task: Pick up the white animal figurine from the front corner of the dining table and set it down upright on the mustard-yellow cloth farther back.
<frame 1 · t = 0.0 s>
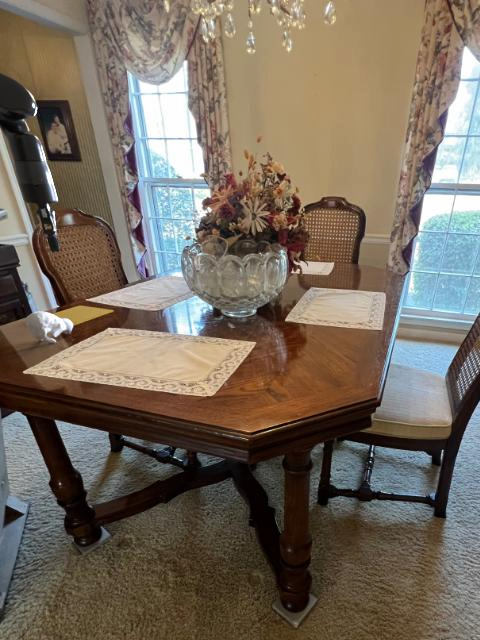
hand: (55, 249, 105), 23 cm above the table, tool pointing down, fingers open, 8 cm apart
white animal figurine: (57, 338, 110), on the table
cloth: (73, 316, 127), on the table
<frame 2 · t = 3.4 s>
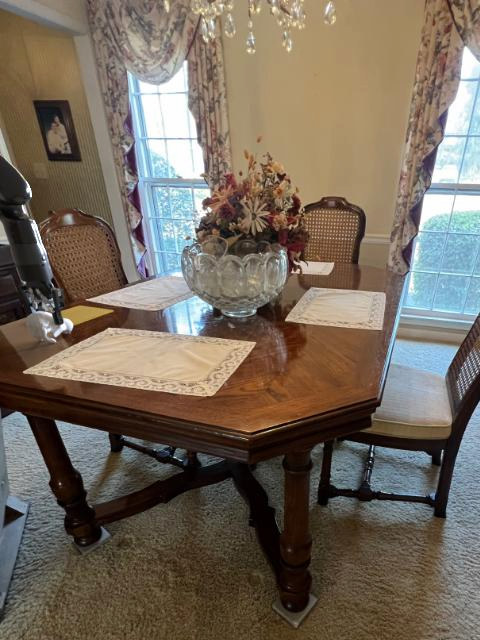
hand: (52, 323, 107), 4 cm above the table, tool pointing down, fingers closed on white animal figurine, 5 cm apart
white animal figurine: (57, 338, 110), on the table, touching gripper
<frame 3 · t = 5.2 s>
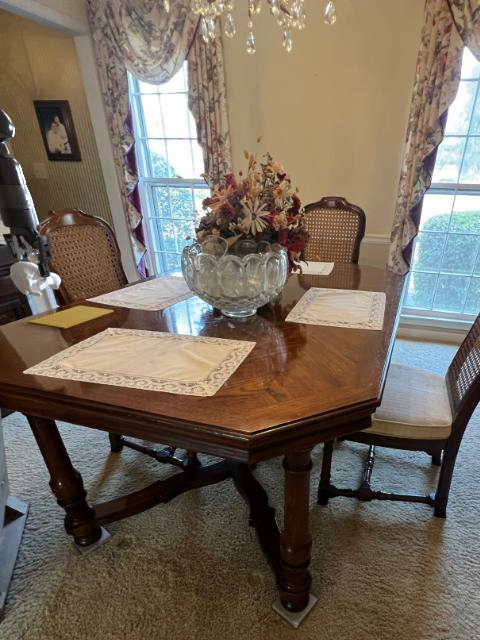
hand: (38, 275, 102), 17 cm above the table, tool pointing down, fingers closed on white animal figurine, 5 cm apart
white animal figurine: (43, 293, 104), point 13 cm above the table, touching gripper
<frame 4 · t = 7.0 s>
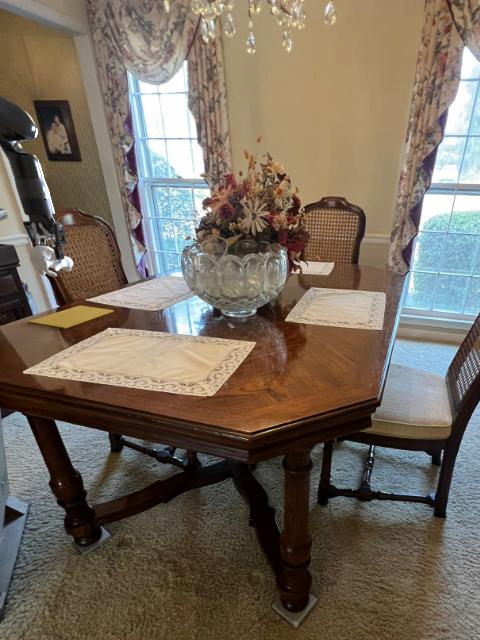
hand: (53, 258, 116), 19 cm above the table, tool pointing down, fingers closed on white animal figurine, 5 cm apart
white animal figurine: (58, 274, 118), point 14 cm above the table, touching gripper
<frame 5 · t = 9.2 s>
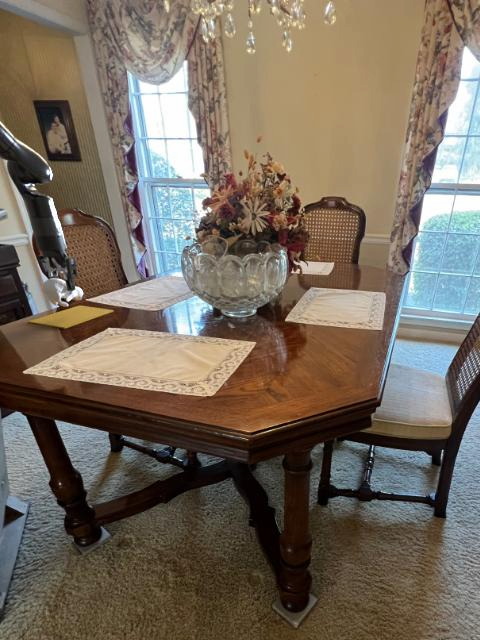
hand: (65, 289, 123), 9 cm above the table, tool pointing down, fingers closed on white animal figurine, 5 cm apart
white animal figurine: (69, 303, 125), point 4 cm above the table, touching gripper
when the fingers open (5 cm above the table, at t = 10.7 s): white animal figurine stays where it is, resting on cloth.
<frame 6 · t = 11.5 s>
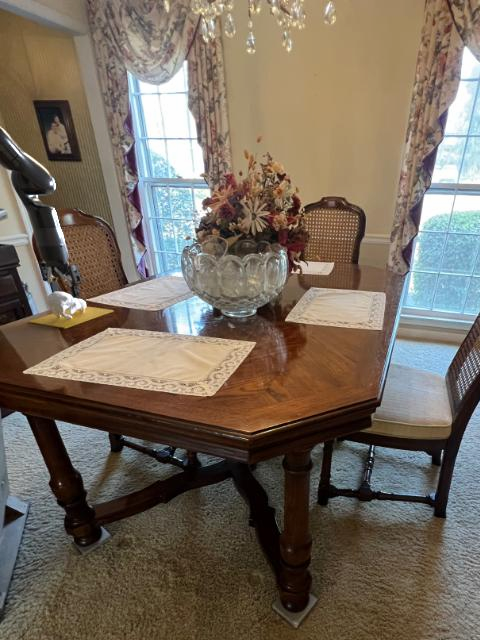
hand: (66, 296, 124), 7 cm above the table, tool pointing down, fingers open, 8 cm apart
white animal figurine: (72, 316, 127), resting on cloth
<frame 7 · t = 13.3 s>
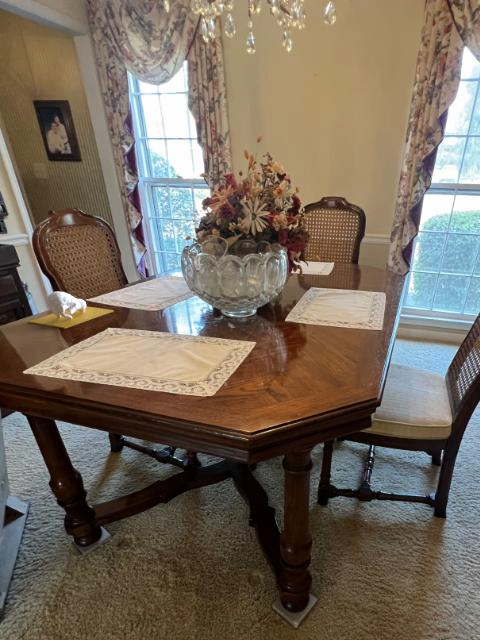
nothing on the table moved.
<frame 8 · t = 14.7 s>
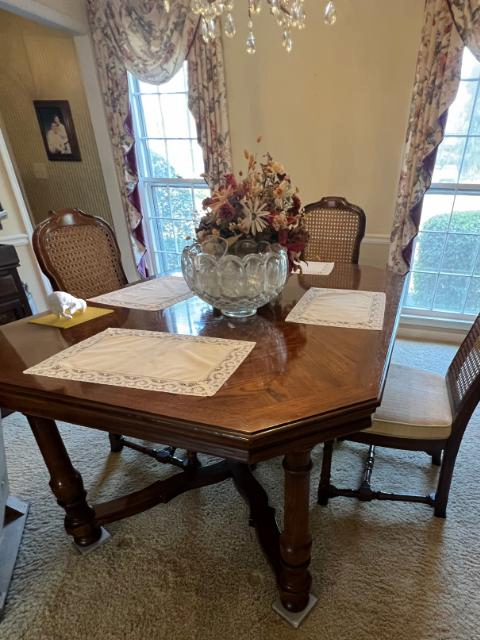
nothing on the table moved.
at the end: white animal figurine inside the target area on the cloth (0.1 cm from its centre), point 0.2 cm above the cloth's base; white animal figurine tilted 0°; the gripper is holding nothing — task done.
